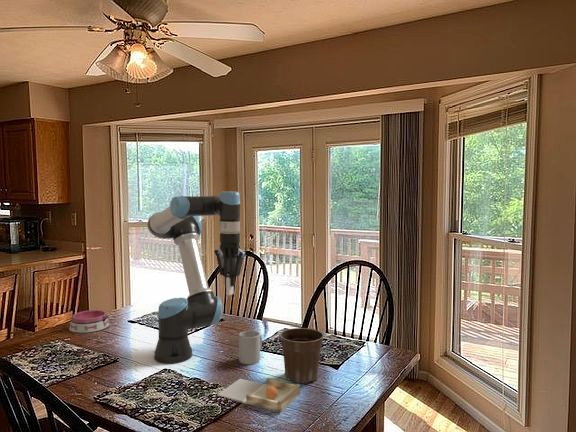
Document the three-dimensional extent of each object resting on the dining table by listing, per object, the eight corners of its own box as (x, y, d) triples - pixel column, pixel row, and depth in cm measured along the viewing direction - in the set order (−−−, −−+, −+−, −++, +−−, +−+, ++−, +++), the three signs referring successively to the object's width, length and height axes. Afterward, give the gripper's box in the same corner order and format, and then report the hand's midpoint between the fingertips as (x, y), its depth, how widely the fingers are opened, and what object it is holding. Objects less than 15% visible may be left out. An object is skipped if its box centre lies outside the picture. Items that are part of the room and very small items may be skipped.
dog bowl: (100, 334, 212) (100, 319, 212) (61, 333, 212) (61, 319, 212) (115, 322, 230) (115, 309, 230) (79, 321, 230) (79, 308, 230)
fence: (246, 403, 145) (246, 393, 144) (267, 386, 157) (267, 377, 157) (280, 413, 139) (280, 402, 139) (299, 394, 151) (299, 384, 151)
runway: (217, 396, 150) (217, 394, 150) (240, 380, 162) (240, 378, 162) (280, 413, 139) (280, 411, 139) (299, 394, 151) (299, 392, 151)
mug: (251, 366, 175) (251, 338, 174) (234, 361, 179) (234, 334, 179) (269, 356, 185) (269, 330, 184) (252, 352, 189) (252, 327, 189)
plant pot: (280, 367, 174) (280, 326, 173) (322, 368, 173) (322, 327, 172) (278, 386, 158) (278, 341, 157) (324, 387, 157) (324, 342, 156)
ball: (261, 396, 146) (268, 389, 144) (264, 388, 150) (271, 381, 148) (271, 404, 146) (278, 396, 144) (274, 396, 150) (281, 388, 148)
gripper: (209, 232, 167) (210, 294, 169) (238, 234, 162) (238, 298, 163) (221, 230, 174) (221, 290, 176) (249, 232, 168) (249, 294, 170)
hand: (229, 294), depth 169 cm, fingers closed
